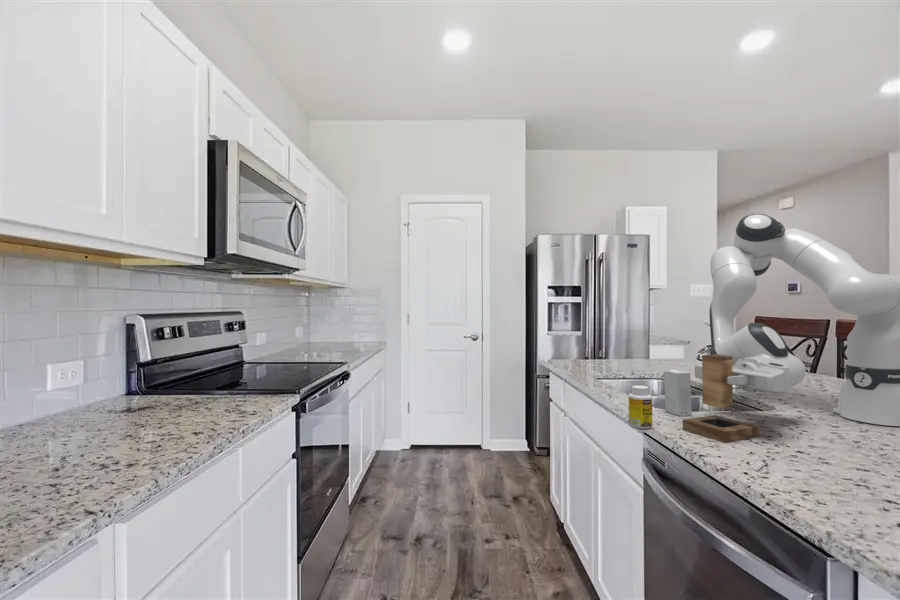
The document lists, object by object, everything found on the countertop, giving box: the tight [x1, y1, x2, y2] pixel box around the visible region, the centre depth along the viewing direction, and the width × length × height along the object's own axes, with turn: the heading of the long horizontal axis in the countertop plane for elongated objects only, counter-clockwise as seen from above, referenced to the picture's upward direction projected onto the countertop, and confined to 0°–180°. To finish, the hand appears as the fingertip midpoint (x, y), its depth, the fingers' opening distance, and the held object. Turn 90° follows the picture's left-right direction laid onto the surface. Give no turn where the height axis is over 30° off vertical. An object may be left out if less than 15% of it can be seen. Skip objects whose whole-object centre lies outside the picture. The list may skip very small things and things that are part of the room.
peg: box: [701, 353, 734, 409], centre depth 108 cm, size 5×5×12 cm
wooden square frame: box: [682, 414, 760, 443], centre depth 108 cm, size 11×11×2 cm
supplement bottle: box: [628, 385, 653, 430], centre depth 114 cm, size 6×6×10 cm
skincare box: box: [663, 369, 693, 417], centre depth 127 cm, size 6×4×12 cm
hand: (714, 378), depth 108 cm, fingers closed on peg, 4 cm apart
